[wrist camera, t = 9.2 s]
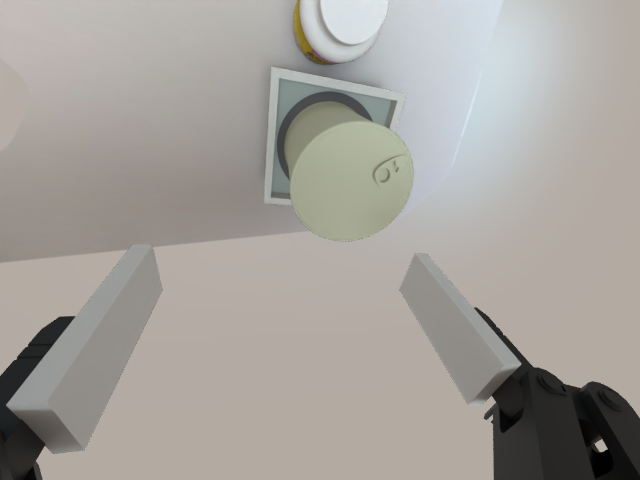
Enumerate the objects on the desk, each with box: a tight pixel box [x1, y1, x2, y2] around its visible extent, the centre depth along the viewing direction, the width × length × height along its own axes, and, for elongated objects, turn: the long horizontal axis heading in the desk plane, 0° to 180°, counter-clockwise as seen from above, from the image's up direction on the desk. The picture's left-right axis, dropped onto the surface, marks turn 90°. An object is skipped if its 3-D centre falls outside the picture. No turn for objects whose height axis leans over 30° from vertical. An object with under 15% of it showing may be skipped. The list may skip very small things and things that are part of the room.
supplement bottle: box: [293, 0, 389, 65], centre depth 22 cm, size 7×7×13 cm
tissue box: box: [264, 66, 407, 206], centre depth 30 cm, size 13×13×8 cm
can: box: [284, 101, 413, 241], centre depth 23 cm, size 9×9×12 cm
